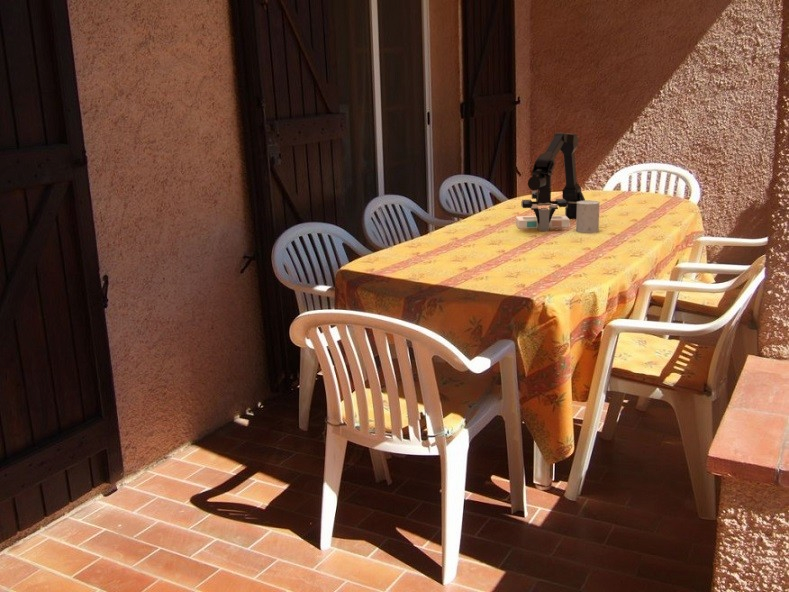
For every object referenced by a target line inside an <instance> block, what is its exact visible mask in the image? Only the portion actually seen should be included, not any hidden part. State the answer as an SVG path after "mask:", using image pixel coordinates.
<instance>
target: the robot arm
mask: <svg viewBox="0 0 789 592" xmlns="http://www.w3.org/2000/svg"><path fill="white" fill-rule="evenodd" d="M578 144H579V137H578V135H577V134H576V133H565V132H555V133H553V138H552V140H551V141H550V143H549V144H548V147H547V148H546V150H545V152H542V153H540V155H538V156H537V158H536V160H535V161H534V165H533V167H532V171H531V177H530V178H529V179H528V180H527V185H528V188H529V189H530V190H532V191H531V199H532V200H531V199H522V200H520V201H521V203H520V204H521V206H520V207H521V208H523V209H531V210H532V211H533V213H534V214H535V215H534V216H536V218H537V222H538V224H539V209H540V208H539V206H541V207H542V206H548V209H549V223H550V220H551V218H552V216H554V213H555V211H556V210H558V209H559V208H565V209H564V215H566V216H567V217H568V218H569V219H570V220H571V219H572V220H573V219H575V220H576V216H577V202H578V201H586V198H585V196H584V194H583V193H582V188H581V186H580V185H579V183H578V181H577V169H576V168H577V167H576V155H575V153H576V152H575V151H576V150H577V148H578V147H579V145H578ZM559 152H561V153H562V154H563V162H564V176H565V177H564V178H565V185H564V187H563V189H562V191H561V192H562V195H561V196H562V198H555V200H552V176H553V170H554V168H555V165H556V161H555V159H556V157H557V155H558V154H559ZM533 200H535V201H533Z"/></svg>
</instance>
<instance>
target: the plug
mask: <svg viewBox="0 0 789 592" xmlns="http://www.w3.org/2000/svg"><path fill="white" fill-rule="evenodd" d="M538 209H539V224H538V228H537V229H538V231H539V232H549V231H550V228H549V208H547V207H540V208H538Z"/></svg>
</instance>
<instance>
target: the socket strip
mask: <svg viewBox="0 0 789 592" xmlns="http://www.w3.org/2000/svg"><path fill="white" fill-rule="evenodd" d="M570 220H571V219H569V218H568V217H567V216H566V215H565V214H563V215H559V214H557V215H552V218H551V220H550V223H549V229H550V228H551V229H553V228H570ZM515 225H516V227H517V228H518V229H520V230H522V229H538V222H537V218H536V215H525V216H523V215H522V216H515Z"/></svg>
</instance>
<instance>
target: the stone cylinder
mask: <svg viewBox="0 0 789 592" xmlns="http://www.w3.org/2000/svg"><path fill="white" fill-rule="evenodd" d="M575 221H576V222H575V223H576V224H575V225H576V226H575V227H576V228H575V232H577V233H581V234H595V233H599V232H600V231H599V227H600V225H599V224H600V201H598V200H585V201H578V202H577V216H576V219H575Z"/></svg>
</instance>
